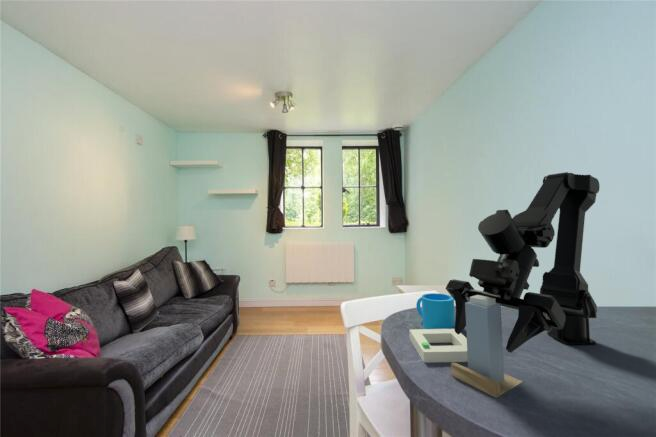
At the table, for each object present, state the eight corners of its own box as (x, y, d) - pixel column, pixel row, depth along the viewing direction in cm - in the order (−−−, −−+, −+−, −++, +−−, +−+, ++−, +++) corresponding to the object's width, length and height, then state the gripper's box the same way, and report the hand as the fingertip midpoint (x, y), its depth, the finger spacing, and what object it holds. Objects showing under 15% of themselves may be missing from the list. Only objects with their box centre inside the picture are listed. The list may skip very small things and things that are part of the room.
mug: (462, 329, 75) (460, 298, 75) (439, 335, 72) (437, 302, 72) (428, 316, 86) (427, 289, 86) (406, 321, 83) (405, 293, 83)
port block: (456, 341, 68) (456, 326, 68) (481, 366, 56) (480, 348, 56) (409, 342, 68) (409, 327, 68) (424, 367, 56) (423, 349, 56)
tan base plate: (478, 367, 55) (477, 352, 56) (523, 387, 49) (522, 369, 49) (451, 380, 51) (450, 363, 51) (496, 403, 45) (495, 384, 45)
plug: (481, 369, 53) (478, 293, 53) (504, 379, 49) (500, 298, 50) (468, 376, 51) (464, 297, 51) (491, 387, 47) (486, 302, 48)
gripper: (449, 240, 61) (414, 302, 55) (553, 244, 45) (519, 331, 39) (473, 273, 64) (443, 334, 59) (577, 288, 48) (550, 373, 43)
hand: (480, 341), depth 50 cm, fingers open, 9 cm apart
